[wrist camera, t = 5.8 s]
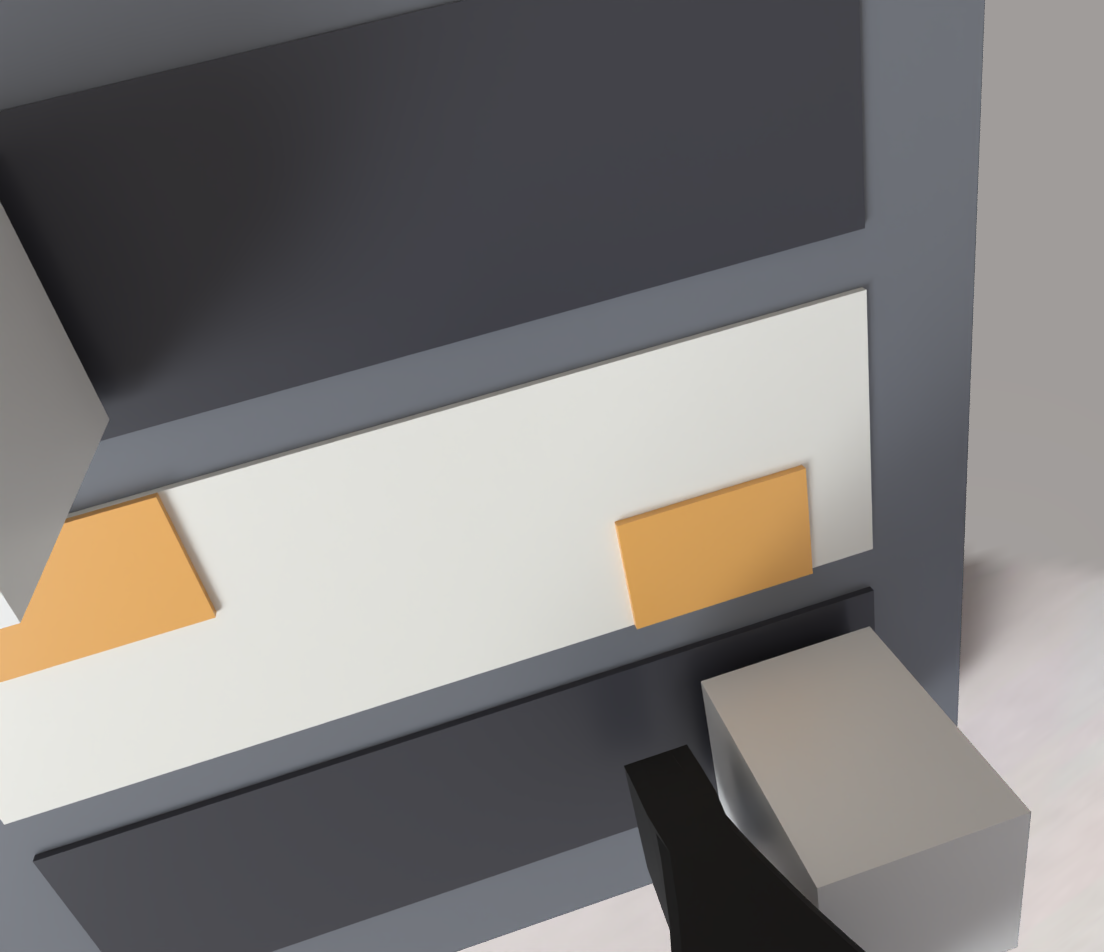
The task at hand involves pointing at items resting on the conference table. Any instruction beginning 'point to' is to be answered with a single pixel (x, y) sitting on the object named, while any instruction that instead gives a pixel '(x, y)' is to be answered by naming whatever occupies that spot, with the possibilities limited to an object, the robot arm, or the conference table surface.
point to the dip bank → (462, 435)
